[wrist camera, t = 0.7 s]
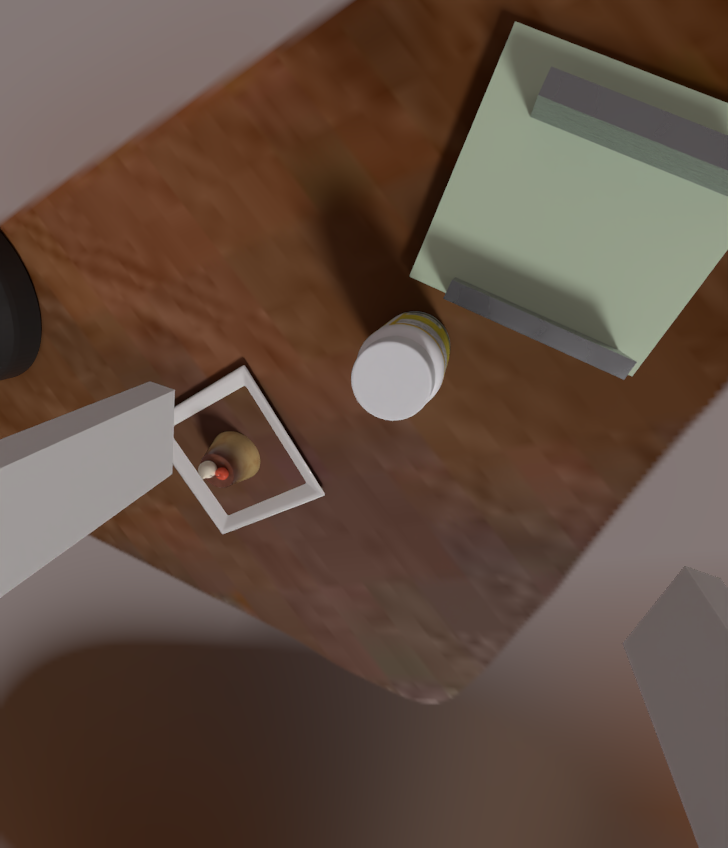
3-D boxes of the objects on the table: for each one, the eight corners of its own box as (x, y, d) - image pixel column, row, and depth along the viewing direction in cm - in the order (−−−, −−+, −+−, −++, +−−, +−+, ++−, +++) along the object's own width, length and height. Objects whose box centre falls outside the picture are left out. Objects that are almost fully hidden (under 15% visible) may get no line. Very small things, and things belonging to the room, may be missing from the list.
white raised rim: (330, 488, 33) (307, 522, 29) (229, 527, 38) (197, 561, 34) (251, 360, 31) (214, 377, 27) (154, 420, 36) (109, 442, 31)
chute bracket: (447, 293, 24) (443, 298, 21) (541, 92, 19) (551, 66, 17) (607, 365, 23) (624, 379, 20) (743, 173, 19) (788, 159, 16)
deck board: (412, 275, 25) (409, 276, 24) (513, 34, 20) (515, 21, 19) (625, 371, 24) (631, 376, 23) (794, 142, 19) (813, 135, 17)
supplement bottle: (394, 390, 28) (362, 438, 21) (369, 325, 27) (326, 352, 19) (461, 368, 26) (453, 413, 19) (438, 298, 25) (420, 317, 18)
